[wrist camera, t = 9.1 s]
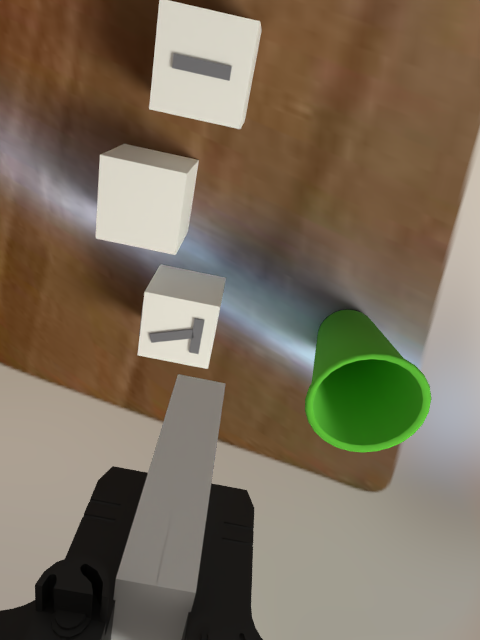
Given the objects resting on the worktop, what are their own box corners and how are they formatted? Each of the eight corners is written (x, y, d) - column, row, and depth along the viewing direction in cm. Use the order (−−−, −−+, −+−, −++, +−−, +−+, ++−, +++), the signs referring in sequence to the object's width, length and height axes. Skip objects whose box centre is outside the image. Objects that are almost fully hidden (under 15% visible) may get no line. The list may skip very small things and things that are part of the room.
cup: (383, 376, 45) (414, 458, 35) (291, 367, 45) (297, 447, 35) (405, 293, 41) (447, 360, 31) (304, 284, 41) (315, 348, 31)
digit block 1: (174, 10, 32) (155, -4, 26) (261, 30, 32) (260, 21, 27) (164, 103, 35) (145, 108, 29) (244, 121, 35) (240, 129, 30)
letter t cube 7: (158, 263, 41) (141, 292, 35) (226, 277, 41) (219, 308, 36) (151, 321, 44) (134, 355, 38) (215, 333, 44) (207, 370, 38)
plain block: (124, 143, 36) (99, 154, 31) (198, 159, 37) (187, 173, 31) (119, 216, 39) (95, 238, 34) (188, 231, 39) (175, 255, 34)
